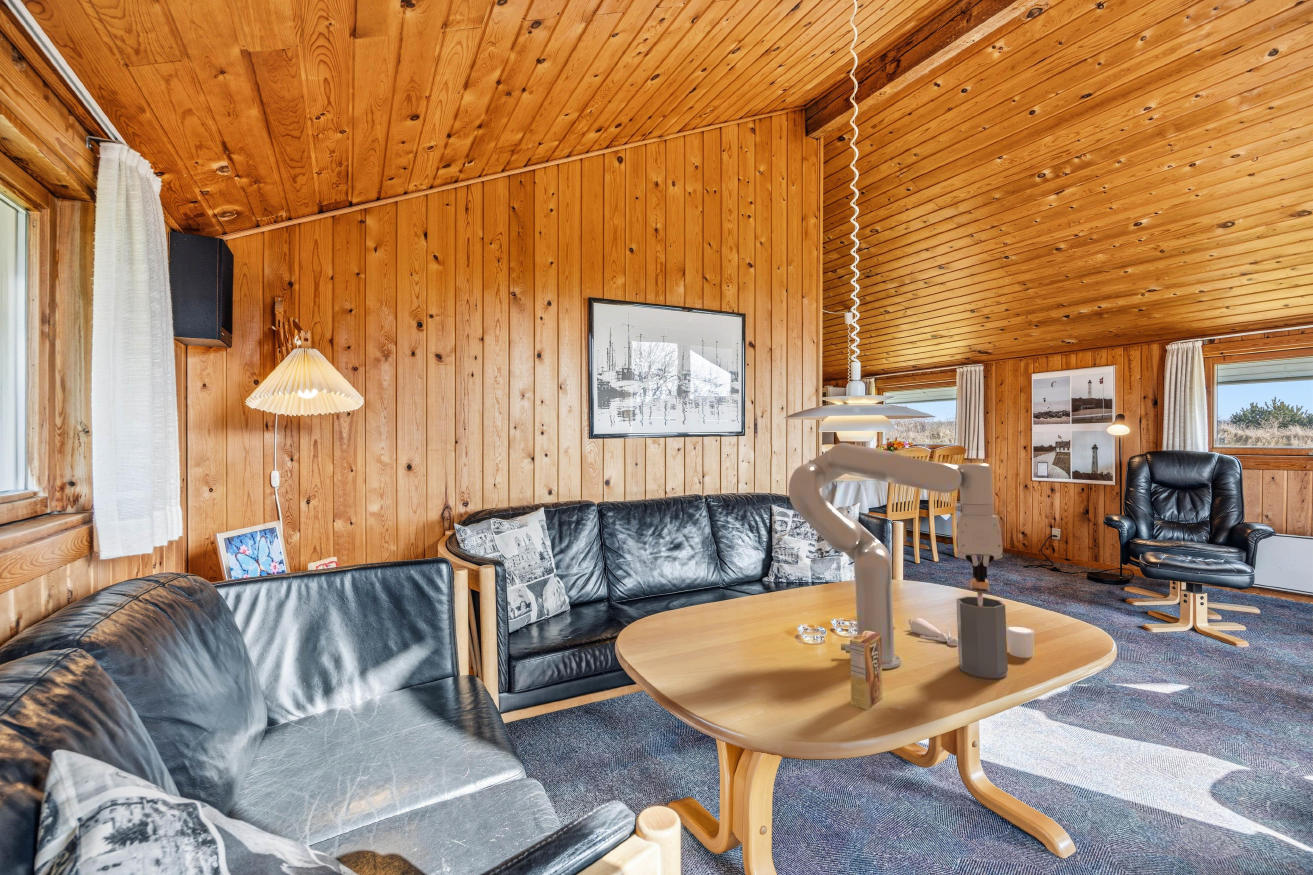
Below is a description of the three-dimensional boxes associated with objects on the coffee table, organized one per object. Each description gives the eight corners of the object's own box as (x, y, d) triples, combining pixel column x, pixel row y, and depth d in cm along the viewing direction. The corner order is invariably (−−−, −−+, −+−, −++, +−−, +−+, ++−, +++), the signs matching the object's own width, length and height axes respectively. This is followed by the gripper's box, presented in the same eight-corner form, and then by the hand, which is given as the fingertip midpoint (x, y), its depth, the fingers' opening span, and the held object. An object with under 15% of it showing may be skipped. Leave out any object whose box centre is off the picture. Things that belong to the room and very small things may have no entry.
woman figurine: (926, 613, 190) (972, 633, 173) (926, 626, 190) (972, 648, 173) (897, 617, 186) (941, 638, 169) (897, 631, 186) (941, 653, 169)
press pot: (964, 677, 149) (962, 606, 149) (953, 657, 163) (950, 592, 163) (1012, 680, 146) (1009, 608, 146) (996, 660, 160) (994, 594, 160)
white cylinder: (1021, 660, 159) (1020, 634, 159) (1000, 651, 166) (999, 626, 166) (1041, 656, 161) (1040, 631, 161) (1020, 648, 168) (1019, 624, 168)
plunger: (967, 648, 150) (965, 583, 150) (960, 638, 158) (958, 576, 158) (1004, 651, 148) (1002, 584, 148) (995, 640, 156) (993, 577, 156)
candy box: (866, 692, 142) (864, 629, 142) (884, 697, 139) (881, 632, 139) (850, 705, 135) (848, 639, 136) (868, 710, 132) (866, 643, 133)
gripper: (948, 512, 152) (951, 583, 151) (1013, 511, 148) (1017, 584, 147) (942, 508, 159) (946, 576, 159) (1004, 508, 155) (1008, 578, 155)
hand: (980, 580), depth 153 cm, fingers closed
